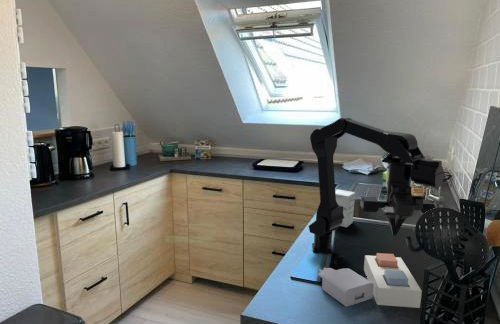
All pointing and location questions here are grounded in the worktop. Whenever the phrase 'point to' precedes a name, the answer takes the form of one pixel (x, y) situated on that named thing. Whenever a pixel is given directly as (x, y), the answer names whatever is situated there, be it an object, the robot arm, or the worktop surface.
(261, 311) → the worktop surface
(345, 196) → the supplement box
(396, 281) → the slate key
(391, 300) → the key console
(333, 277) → the charger
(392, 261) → the brick key
